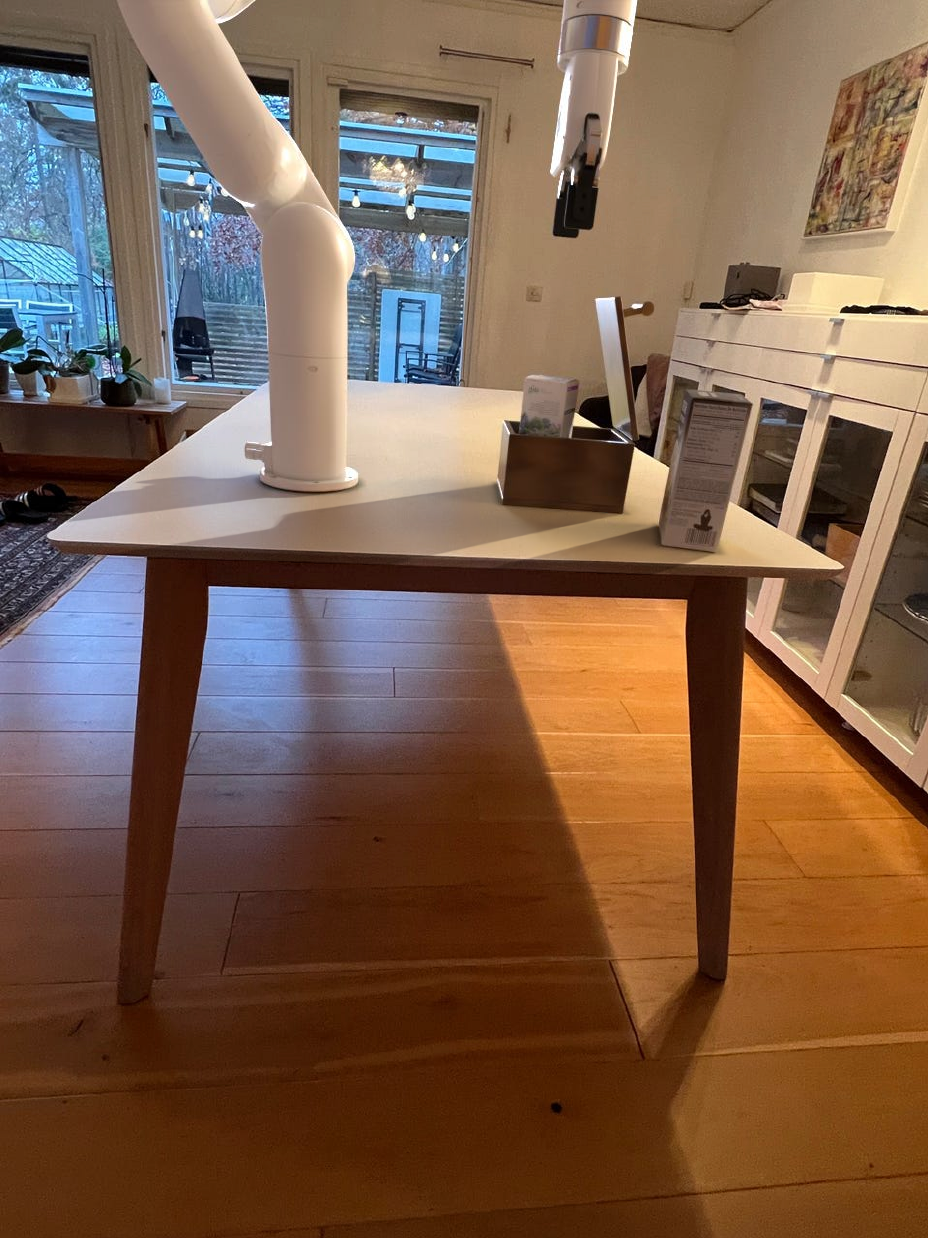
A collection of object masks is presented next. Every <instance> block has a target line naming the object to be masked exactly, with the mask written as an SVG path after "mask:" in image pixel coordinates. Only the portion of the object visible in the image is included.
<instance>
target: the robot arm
mask: <svg viewBox="0 0 928 1238" xmlns="http://www.w3.org/2000/svg"><path fill="white" fill-rule="evenodd" d="M255 1H256V0H116V2H117V5H118V7H119V10H120V13H121V15H122V18H123V20H124V23H125V25H126V27H127V29H128V32H129V33H130V35H131V37H132V39H133V41H134V43H135V45H136V47H137V48H138V50H139V52H140V54H141V57H143V59H144V61H145V64H147V66H148V68H149V70H150V71H151V73H152V74H153V76H154V78H155V80H156V81H157V83H158V84H159V86H160V87H161V89H162V91H163V92H164V94H165V96H166V97H167V99H168V101H169V102H170V104H171V106H172V108H173V110H174V111H175V113H176V115H177V116H178V118H179V120H180V122H181V123H182V125H183V126H184V128H185V130H186V131H187V133H188V135H189V136H190V137H191V139H192V141H193V142H194V144H195V145H196V147H197V149H198V150H199V152H200V154H201V156H202V157H203V159H204V161H205V162H206V164H207V166H208V167H209V169H210V171H211V173H212V176H213V177H214V178H215V181H216V182H217V183H218V185H219V186H220V187H221V189H222V190H223V191H224V192H225V193H226V194H227V195H228V196H230V197H231V198H233V199H234V200H235V201H237V202H239V203H240V204H241V205H242V207H243V209H245V211H246V213H247V214H248V216H249V217H250V219H251V221H252V222H253V224H254V225H255V227H256V228H257V230H258V232H259V233H260V235H261V241H260V269H261V278H262V279H261V280H262V287H263V295H264V304H265V306H264V307H265V319H266V338H267V339H266V340H267V343H266V344H267V358H268V359H267V361H268V385H269V386H268V388H269V389H268V391H269V393H268V394H269V421H270V424H269V425H270V441H269V442H267V443H264V444H262V443H260V442H251V441H246V442H245V445H244V450H243V451H244V458H245V459H246V460H253V461H258V460H259V461H261V462H262V463H263V467H262V468H261V469H260V470H259V480H260V481H261V482H262V483H263V484H265V485H267V486H269V487H273V488H276V489H280V490H281V489H282V490H287V491H293V492H294V491H295V492H312V493H313V492H317V493H319V492H320V493H321V492H322V493H323V492H335V491H341V490H342V491H343V490H346V489H347V490H348V489H349V488H353V487H355V486H356V485H357V484H358V483H359V473H358V471H356V470H355V469H352V468H350V467H347V451H348V450H347V447H348V446H347V444H348V441H347V440H348V438H347V436H348V435H347V434H348V345H349V344H348V342H349V341H348V331H349V330H348V329H349V328H348V283H349V281H350V280H351V278H352V275H353V273H354V270H355V264H356V263H355V262H356V255H355V247H354V244H353V241H352V238H351V236H350V235H349V232H348V231H347V229H346V227H345V226H344V224H343V222H342V221H341V219H340V217H339V215H338V214H337V212H336V210H335V209H334V207H333V205H332V204H331V202H330V200H329V199H328V196H327V195H326V192H325V191H324V189H323V188H322V186H321V185H320V183H319V180H318V179H317V178H316V176H315V174H314V172H313V171H312V169H311V167H310V166H309V165H310V164H308V162H307V160H306V158H305V157H304V155H303V153H302V152H301V150H300V148H299V147H298V145H297V143H296V142H295V140H294V139H293V138H292V136H291V135H290V134H289V132H288V131H287V130H286V129H285V127H283V125H282V124H281V123H280V121H278V119H277V118H276V117H275V116H274V114H272V112H271V111H270V110H269V108H268V107H267V105H266V104H265V102H264V101H263V99H262V98H261V96H260V94H259V93H258V91H257V90H256V88H255V86H254V85H253V83H252V81H251V80H250V78H249V76H248V75H247V73H246V72H245V69H244V68H243V67H242V65H241V63H240V60H239V59H238V56H237V55H236V53H235V51H234V49H233V48H232V46H231V44H230V42H229V41H228V39H227V37H226V36H225V34H224V32H223V31H222V29H221V27H220V25H219V24H222V23H224V22H226V21H229V20H231V19H233V18H234V17H236V16H238V15H240V13H241V12H243V11H244V10H246V8H248V7H249V6H250V5H251V4H253V3H254V2H255ZM637 2H638V0H563V9H562V16H561V17H562V18H561V25H560V26H561V27H560V35H559V45H558V53H557V63H556V66H557V68H558V70H559V71H561V72H562V73H564V79H563V82H562V83H563V84H562V87H561V88H562V89H561V94H560V101H559V106H558V107H559V108H558V115H557V123H556V131H555V136H554V137H555V139H554V144H553V152H552V159H551V165H550V166H551V167H550V175H551V176H552V177H553V178H557V176H559V174H561V175H560V180H559V185H558V190H557V197H556V198H555V204H554V205H555V206H554V214H553V222H552V230H551V231H552V233H551V235H552V236H553V237H555V238H556V237H557V238H566V239H577V238H578V237H579V235H580V230H584V231H591V230H593V228H594V226H595V225H594V224H595V218H596V217H595V216H596V211H597V210H596V209H597V203H598V197H599V195H598V194H599V189H600V188H599V187H598V186H599V182H600V169H602V168H603V166H604V163H605V160H606V157H607V151H608V145H609V139H610V133H611V125H612V119H613V111H614V103H615V93H616V86H617V77H619V76H620V75H623V74H625V73H626V72H627V71H628V66H629V59H630V51H631V45H632V39H633V38H632V37H633V30H634V29H633V28H634V25H635V18H636V17H635V16H636V11H637Z"/></svg>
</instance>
